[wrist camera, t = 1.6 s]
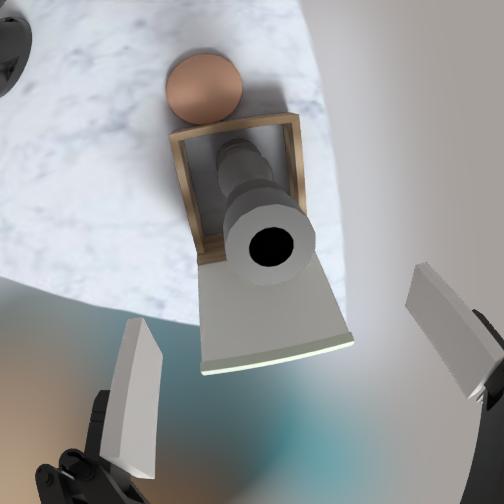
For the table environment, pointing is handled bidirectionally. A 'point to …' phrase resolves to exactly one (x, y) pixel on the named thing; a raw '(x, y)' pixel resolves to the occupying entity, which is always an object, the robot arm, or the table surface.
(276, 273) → the candle holder
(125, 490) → the robot arm
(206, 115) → the saucer
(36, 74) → the table surface
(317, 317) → the frame lid
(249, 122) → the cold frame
